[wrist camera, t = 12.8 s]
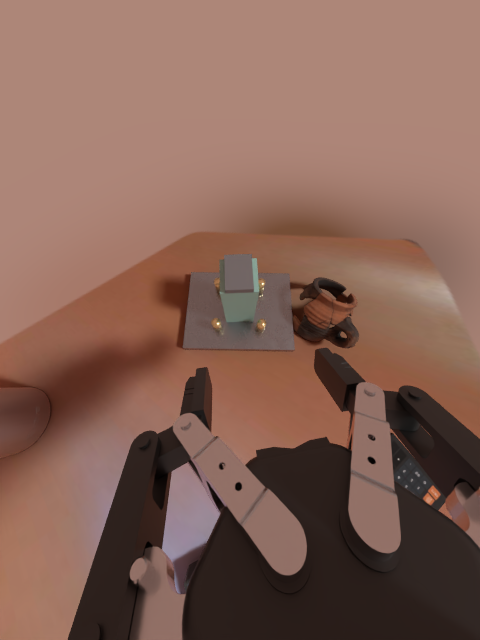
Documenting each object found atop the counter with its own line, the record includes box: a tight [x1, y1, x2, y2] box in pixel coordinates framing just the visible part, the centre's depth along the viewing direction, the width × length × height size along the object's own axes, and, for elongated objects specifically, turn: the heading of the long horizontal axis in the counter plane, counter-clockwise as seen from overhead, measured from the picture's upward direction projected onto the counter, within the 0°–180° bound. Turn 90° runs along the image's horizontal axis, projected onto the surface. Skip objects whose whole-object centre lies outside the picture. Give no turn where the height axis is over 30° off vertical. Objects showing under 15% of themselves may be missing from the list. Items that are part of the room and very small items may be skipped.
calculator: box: [390, 433, 446, 510], centre depth 25 cm, size 9×12×3 cm
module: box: [220, 254, 259, 322], centre depth 27 cm, size 4×5×12 cm
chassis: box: [183, 272, 295, 351], centre depth 32 cm, size 18×14×4 cm
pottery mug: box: [292, 278, 359, 348], centre depth 32 cm, size 12×10×8 cm
